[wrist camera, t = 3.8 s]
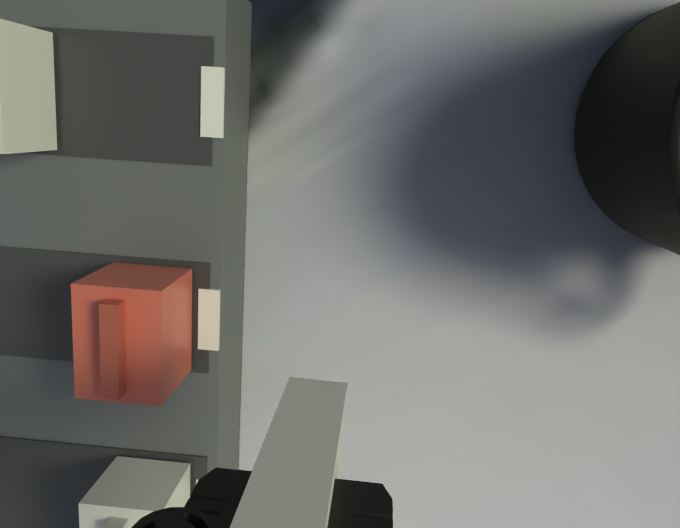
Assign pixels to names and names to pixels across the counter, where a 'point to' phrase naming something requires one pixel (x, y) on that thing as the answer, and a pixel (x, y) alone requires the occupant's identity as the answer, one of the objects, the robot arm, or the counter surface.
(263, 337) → the counter surface
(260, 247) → the counter surface
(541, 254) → the counter surface
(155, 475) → the slider
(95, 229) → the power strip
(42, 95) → the slider
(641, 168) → the mug
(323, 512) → the robot arm
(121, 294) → the slider
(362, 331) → the counter surface
